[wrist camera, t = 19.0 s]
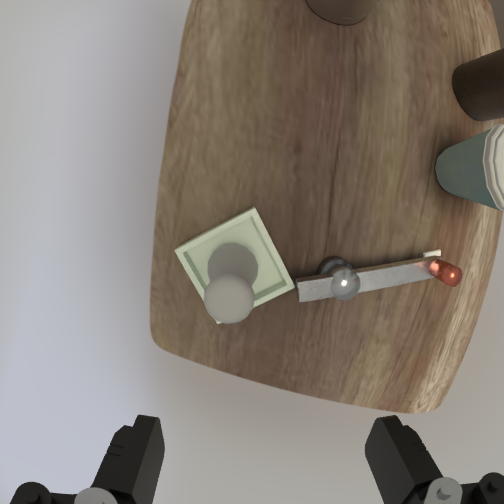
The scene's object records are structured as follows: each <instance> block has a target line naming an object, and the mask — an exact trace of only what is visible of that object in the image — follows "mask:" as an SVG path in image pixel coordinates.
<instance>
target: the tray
mask: <svg viewBox="0 0 504 504" xmlns="http://www.w3.org/2000/svg"><path fill="white" fill-rule="evenodd" d="M228 244H238V245H241V246H244V247H246V248H247V249H248V250H249V251H250V252H251V253H253V254H254V256H255V258H256V261H257V264H258V274H257V278H256V280H255V282H254V283H253V285H252V289H253V291H254V294H255V298H254V306H253V308H254V307H256V306H258V305H260V304H262V303H264V302H266V301H268V300H270V299H272V298H274V297H277V296H279V295H281V294H283V293H285V292H287V291H289V290H291V289H293V288H295V286H294V284H293V282H292V280H291V278H290V276H289V274H288V272H287V270H286V268H285V266H284V264H283V262H282V260H281V258H280V256H279V254H278V252H277V250H276V248H275V246H274V244H273V242H272V240H271V238H270V236H269V234H268V232H267V230H266V228H265V226H264V224H263V222H262V220H261V218H260V216H259V215H258V213H257V211H256V209H255V207H254V206H253V207H252V208H250V209H248V210H246V211H244V212H242V213H240V214H238V215H236V216H234V217H232V218H230V219H228V220H226V221H224V222H223V223H221V224H219V225H217V226H215V227H213V228H211V229H209V230H207V231H205V232H204V233H202V234H200V235H198V236H196V237H194V238H192V239H191V240H189V241H187V242H185V243H183V244H181V245H180V246H178V247H177V248H176V249H175V250H174V251H175V252H176V254H177V256H178V258H179V260H180V261H181V263H182V265H183V267H184V268H185V270H186V272H187V274H188V275H189V277H190V279H191V281H192V282H193V284H194V286H195V287H196V289H197V291H198V292H199V294H200V296H201V298H202V299H203V301H204V290H205V289H206V287H207V285H208V284H209V282H210V280H209V276H208V273H207V269H208V260H209V259H210V257H211V255H212V254H213V252H214V251H215V250H217V249H219V248H220V247H222V246H223V245H228ZM215 321H216V320H215ZM216 322H217V324H220V323H222V322H219V321H216Z"/></svg>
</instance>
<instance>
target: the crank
mask: <svg viewBox="0 0 504 504" xmlns="http://www.w3.org/2000/svg"><path fill="white" fill-rule="evenodd" d="M434 277H435V278H437V279H439V280H440V281H442V282H444V283H446V284H448V285H449V286H451V287H455V286H457V285H458V284H459V283H460V281H461V278H462V271H461V269H460V268H459V267H456V266H454V265H452V264H450V263H447V262H445V261H443V260H442V258H441V257H438V256H436V255H434V256H428V257H423V258H417V259H412V260H406V261H400V262H395V263H389V264H383V265H377V266H371V267H365V268H359V269H353V270H351V269H350V268H349V267H348V266H346V265H344V264H335V265H333V266H331V267H330V268H329V269H328V270H327V272H326V274H320V275H314V276H307V277H300V278H296V287H297V298H298V300H299V302H306V301H312V300H318V299H324V298H330V297H336V298H337V299H339V300H349V299H351V298H353V297H354V296H355V295H356V294H357V293H359V292H365V291H370V290H375V289H381V288H386V287H391V286H396V285H401V284H406V283H411V282H415V281H420V280H425V279H429V278H434Z"/></svg>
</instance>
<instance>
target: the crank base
mask: <svg viewBox="0 0 504 504" xmlns="http://www.w3.org/2000/svg"><path fill="white" fill-rule="evenodd" d="M335 264H344V265H346V266H348V267H349V268H350V269H351V270H353V268H352V266H351V265H350V264H349V263H348V262H347V261H345V260H344V259H343V258H341V257H338V256H332V257H328V258H326V259H325V260H324V261H323V262H322V263H321V264H320V265H319V268H318V271H317V275H320V274H326V272H327V270H328V269H329V268H330V267H331V266H333V265H335Z"/></svg>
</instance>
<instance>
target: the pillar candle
mask: <svg viewBox="0 0 504 504" xmlns="http://www.w3.org/2000/svg"><path fill="white" fill-rule="evenodd" d="M453 89H454V92H455V95H456V97H457V100H458V102H459V103H460V105H461V107H462V108H463V110H464V111H465V112H466V113H467V114H468V115H469V116H470V117H472V118H473V119H475V120H478V121H485V120H491V119H497V118H504V48H503V49H500V50H498V51H495V52H492V53H490V54H487V55H484V56H482V57H480V58H477V59H475V60H472V61H470V62H467V63H465V64H462V65H460V66H459V67H457V69H455V71H454V74H453Z"/></svg>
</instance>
